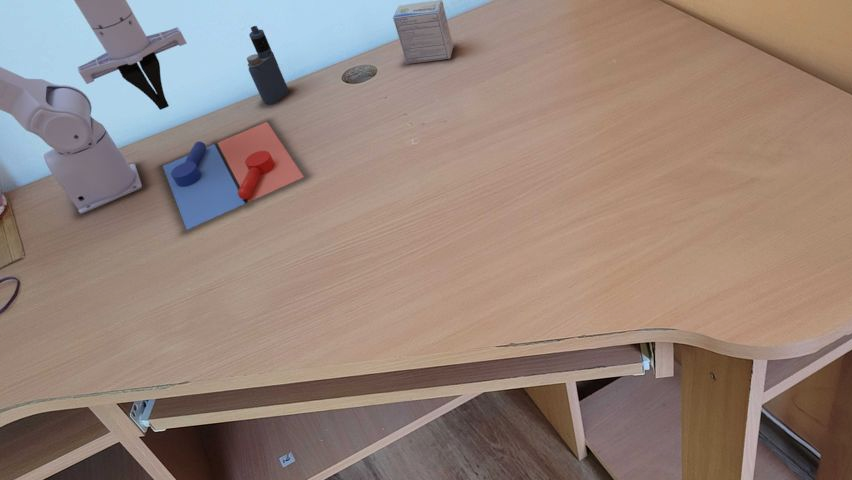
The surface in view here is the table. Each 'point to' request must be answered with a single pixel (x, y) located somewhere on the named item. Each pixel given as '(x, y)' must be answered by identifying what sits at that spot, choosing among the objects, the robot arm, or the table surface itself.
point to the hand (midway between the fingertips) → (163, 105)
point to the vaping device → (265, 69)
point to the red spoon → (255, 172)
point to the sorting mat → (231, 175)
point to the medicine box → (423, 31)
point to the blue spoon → (189, 167)
